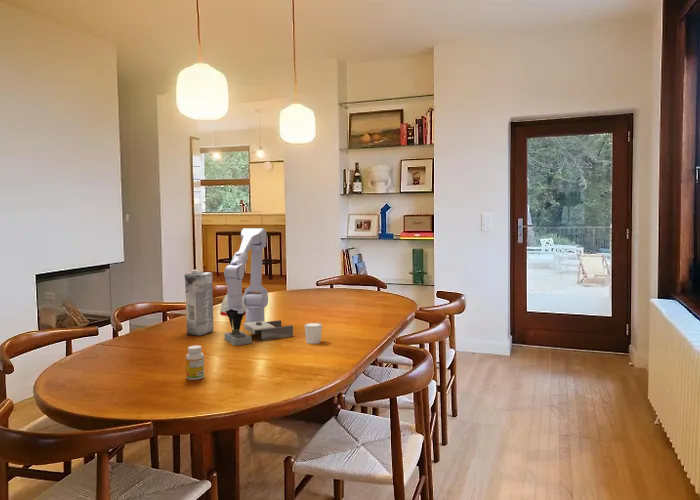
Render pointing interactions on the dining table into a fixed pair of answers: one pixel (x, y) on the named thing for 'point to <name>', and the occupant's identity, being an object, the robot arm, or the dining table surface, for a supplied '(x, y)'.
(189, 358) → the supplement bottle
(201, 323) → the juice carton
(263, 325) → the lid
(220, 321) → the dining table surface
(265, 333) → the housing
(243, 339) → the socket board
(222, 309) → the kitchen timer
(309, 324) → the white cup
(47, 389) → the dining table surface
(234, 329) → the pin
